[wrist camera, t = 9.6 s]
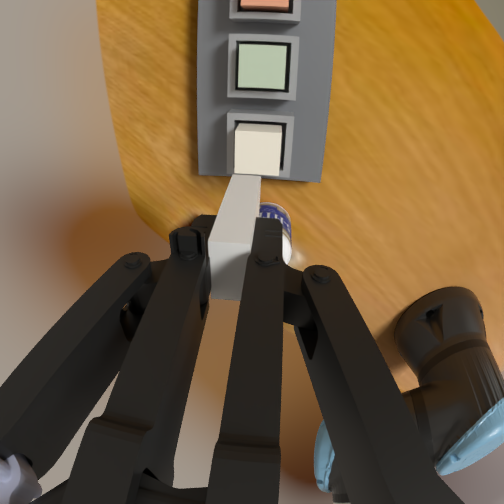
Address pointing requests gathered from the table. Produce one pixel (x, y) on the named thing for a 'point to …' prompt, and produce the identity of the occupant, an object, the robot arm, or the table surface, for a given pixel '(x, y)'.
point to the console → (265, 99)
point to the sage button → (262, 66)
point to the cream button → (258, 149)
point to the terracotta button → (265, 5)
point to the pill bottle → (280, 213)
